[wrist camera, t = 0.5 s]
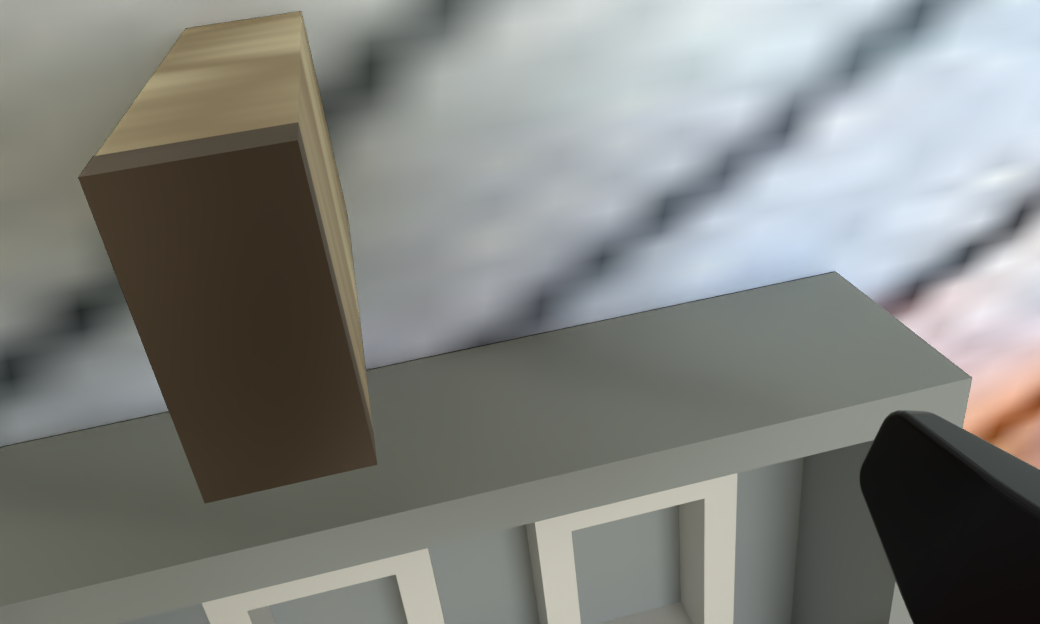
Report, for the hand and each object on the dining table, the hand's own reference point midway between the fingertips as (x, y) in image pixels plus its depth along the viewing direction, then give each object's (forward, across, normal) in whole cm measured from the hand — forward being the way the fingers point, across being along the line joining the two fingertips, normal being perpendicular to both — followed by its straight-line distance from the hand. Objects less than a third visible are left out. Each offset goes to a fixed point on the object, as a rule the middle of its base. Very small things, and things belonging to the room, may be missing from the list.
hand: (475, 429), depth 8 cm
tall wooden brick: (+13, +3, +2) cm, 14 cm away
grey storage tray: (+13, -4, +16) cm, 21 cm away
